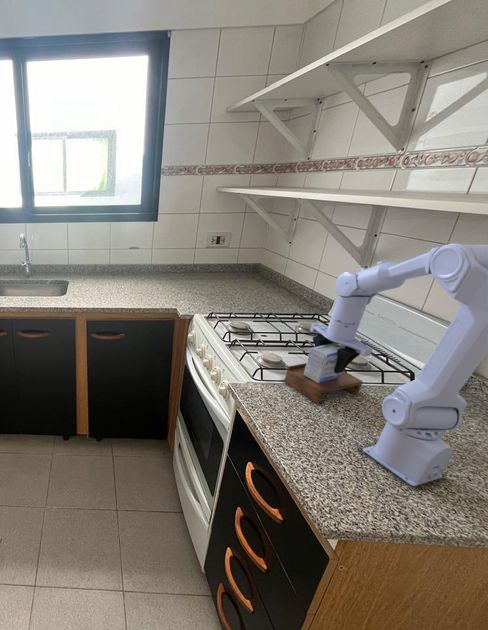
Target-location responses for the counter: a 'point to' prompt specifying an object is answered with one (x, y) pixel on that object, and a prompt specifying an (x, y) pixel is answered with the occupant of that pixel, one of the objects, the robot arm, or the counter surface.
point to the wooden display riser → (314, 389)
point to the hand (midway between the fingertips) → (329, 366)
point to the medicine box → (323, 363)
